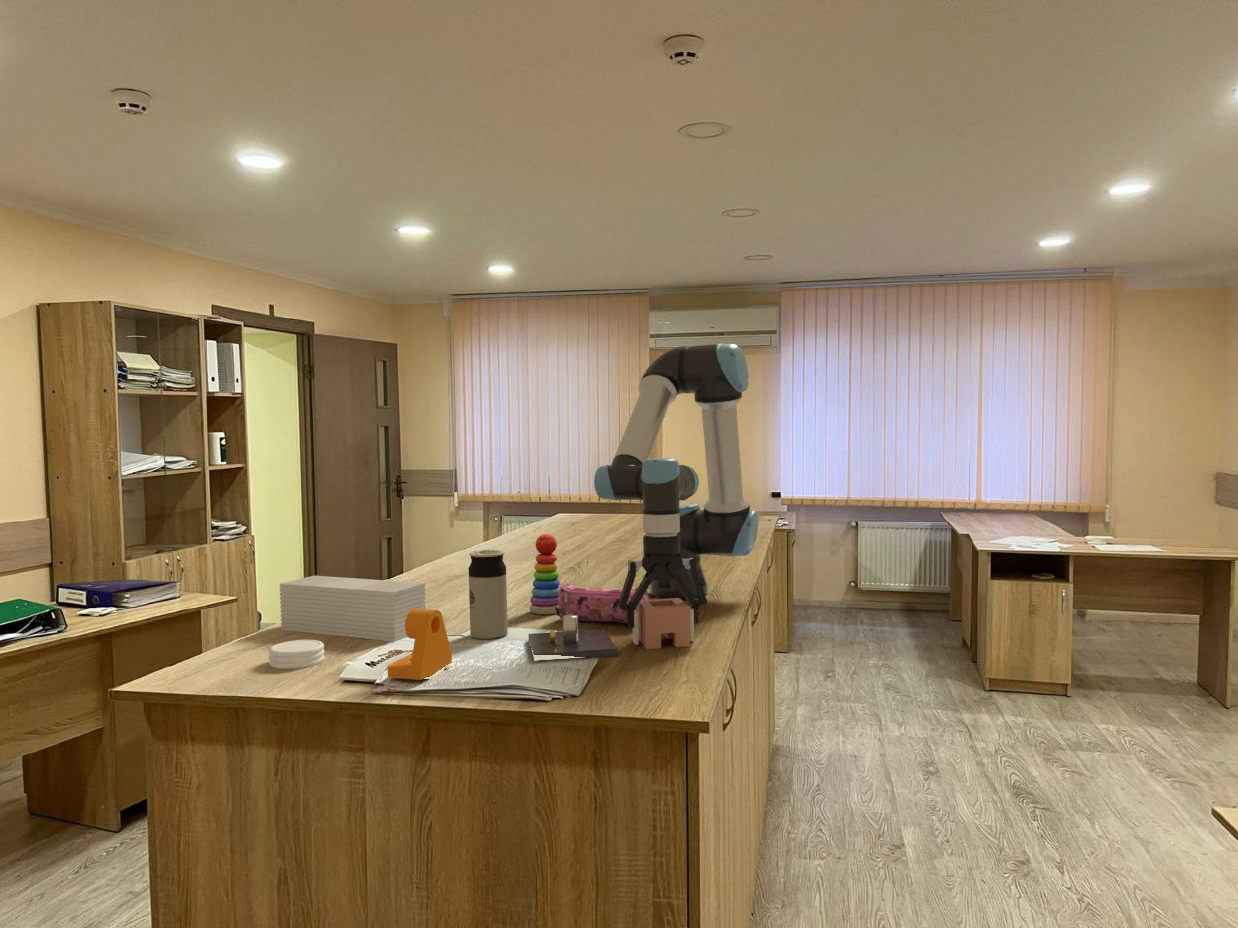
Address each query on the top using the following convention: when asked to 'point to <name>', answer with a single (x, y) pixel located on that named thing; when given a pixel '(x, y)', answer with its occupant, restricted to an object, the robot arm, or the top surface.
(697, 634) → the top surface
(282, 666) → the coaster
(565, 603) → the pencil case
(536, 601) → the stacking toy
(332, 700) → the top surface
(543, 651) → the post plate
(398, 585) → the stack of papers
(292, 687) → the top surface
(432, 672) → the bracket
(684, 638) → the hollow square tube
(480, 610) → the travel mug
